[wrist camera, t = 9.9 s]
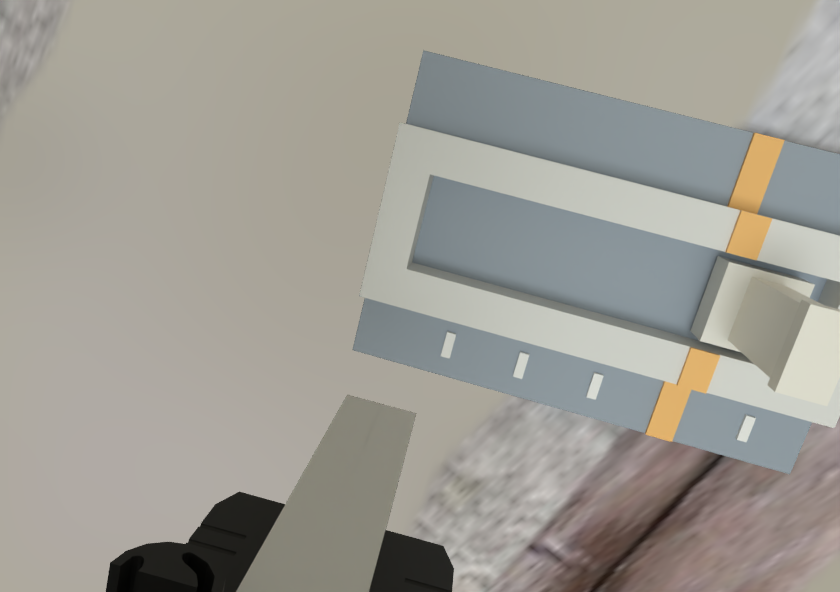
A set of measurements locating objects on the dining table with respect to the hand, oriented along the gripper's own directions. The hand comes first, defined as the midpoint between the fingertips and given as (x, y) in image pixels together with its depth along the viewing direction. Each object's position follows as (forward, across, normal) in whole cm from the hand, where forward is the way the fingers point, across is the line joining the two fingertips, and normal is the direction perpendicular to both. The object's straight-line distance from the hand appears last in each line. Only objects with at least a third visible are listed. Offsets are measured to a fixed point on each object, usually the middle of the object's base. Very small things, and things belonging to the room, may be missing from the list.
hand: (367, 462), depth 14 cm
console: (+24, -8, -2) cm, 25 cm away
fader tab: (+21, -15, -2) cm, 26 cm away
